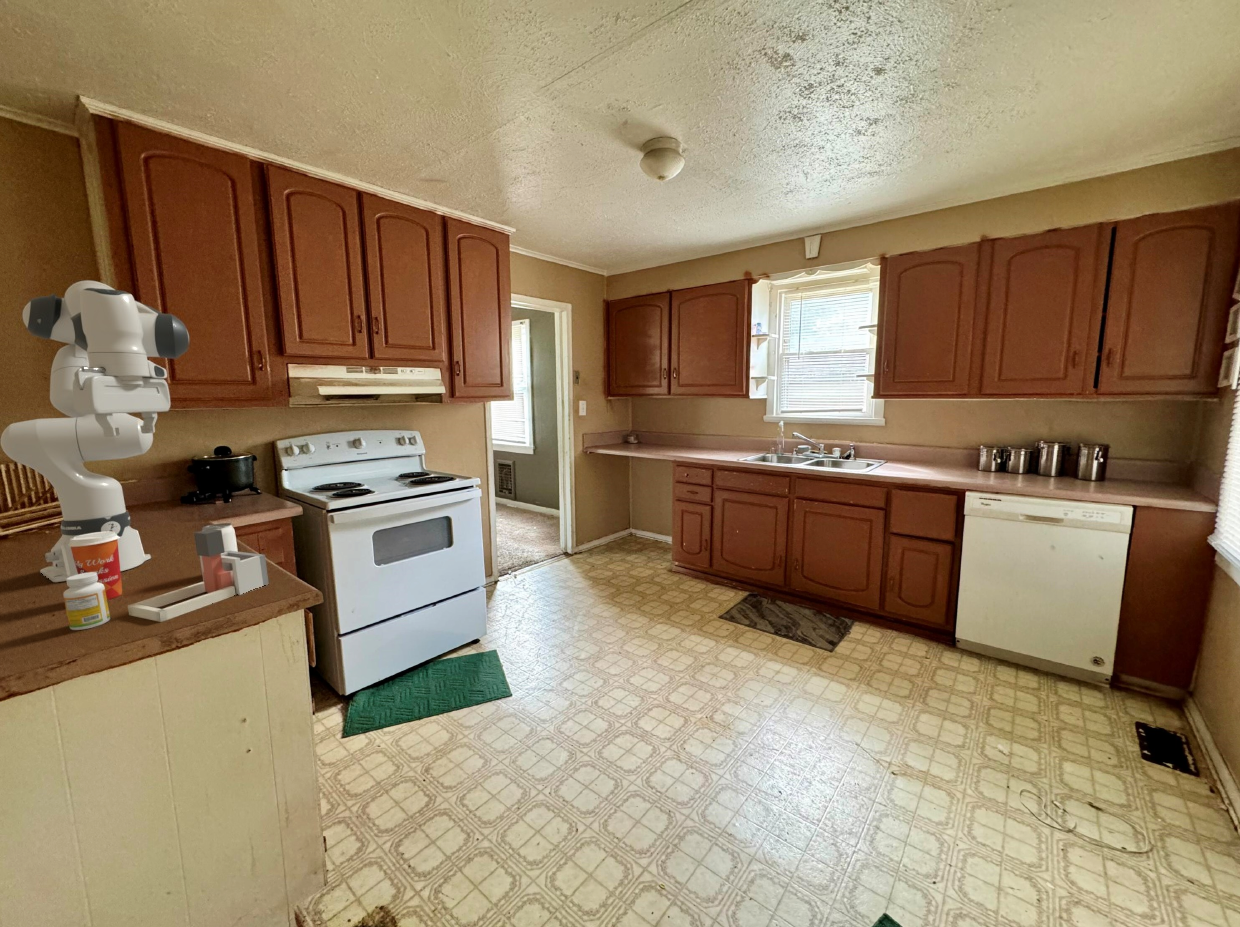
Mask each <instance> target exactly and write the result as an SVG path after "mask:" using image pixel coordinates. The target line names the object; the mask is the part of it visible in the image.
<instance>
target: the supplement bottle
mask: <svg viewBox="0 0 1240 927" xmlns="http://www.w3.org/2000/svg"><path fill="white" fill-rule="evenodd" d="M97 580H98V576H97V573H96V572H89V573H82V574H78V575H74V576H71V577H68V578H67V579H66V581H65V582H66V585H67V587H69V588H68V589H66V590H64V592H63V593H62V594H63V596H62V597H63V600H64V606H65V612H66V616H67V621H68V622H67V623H68V626H69V629H70V630H72V631H80V630H81V631H82V630H88V629H92V628H97V627H99V626H101V625H104V624H105V623H107V622H109V621H110V620H111V614H110V608H109V604H108V603H109V602H108V600H107V597H106V592H105V587H104V585H103V584H102V583H97Z"/></svg>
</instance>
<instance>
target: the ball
mask: <svg viewBox="0 0 1240 927" xmlns="http://www.w3.org/2000/svg"><path fill="white" fill-rule="evenodd" d="M230 572H231V579H232V586H234V587H235V581H234V574H233V570H231V571H230Z"/></svg>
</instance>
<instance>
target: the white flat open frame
mask: <svg viewBox="0 0 1240 927" xmlns="http://www.w3.org/2000/svg"><path fill="white" fill-rule="evenodd" d="M205 592H206V594H202V593H205ZM200 594H202V595H200ZM196 595H199V596H196ZM234 595H235V596H236V595H237V594H236V588H235V587H234V586H229V587H226V588H223V589H220V590H217V591H214V592H211V593H207V591H205V585H204V582H203V581H201V582H198V583H194V584H191V585H189V586H186V587H185V586H184V587H181V588H180V589H175V590H173V591H169V592H167V593H164V594H160V595H156V596H154V597H149V598H147V599H144V600H141V601H138V602H135V603H132V604H128V605H127V610H128V615H129V616H132V617H137V618H141V619H146V620H149V621H150V620H151V621H155V622H159V623H162V622H165V621H168V620H172V619H174V618H176V617H179V616H181V615H184V614H188V613H190V612H193V611H197V610H198V609H201V608H205V607H207V606H210V605H212V603H213V604H216V603H218V602H221V601H224V600H226V599H230V598H231V597H235V596H234ZM193 596H196V597H193ZM191 597H193V598H191ZM188 598H191V599H188ZM184 599H188V600H185V601H182V602H179V603H175V602H178V601H181V600H184ZM172 603H175V604H173V605H171V604H172ZM169 604H170V605H169ZM167 605H169V606H167ZM164 606H167V607H165V608H161V607H164Z"/></svg>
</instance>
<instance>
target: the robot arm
mask: <svg viewBox="0 0 1240 927" xmlns="http://www.w3.org/2000/svg"><path fill="white" fill-rule="evenodd" d="M22 320H23V323H24V326H26V330H27V331H28V332H29V333H30V334H31V335H33V336H35V337H37V338H38V337H39V338H42V339H45V340H54V341H56V342H61V343H65V344H67V345H65V346H62V347H60V349H58V351H57V352H56V354H55V356H54V358H53V361H52V364H51V365H52V366H51V370H50V378H49V379H50V381H49V383H50V385H49V400H50V403H51V405H52V406H53V407H54V408H55V409H57V410H58V411H59V412H60V413H62V414H64V415H66V416H67V417H57V418H56V417H53V418H36V419H30V420H25V421H24V420H23V421H19V422H13V423H11V424H9V425H8V426H7V427H6V428H5V429H4V430H3V431H2V434H1V436H0V446H1V449H2V450H3V452H4V453H5V455H6V456H7V457H8V458H10V459H11V460H13V461H14V462H16V463H18V464H21V465H24V466H26V467H29V468H31V469H33V470H34V471H36V472H37V473H39V474H40V475H42V476H43V477H44V478H45V479H46V480H47V481H48V482H49V483H50V484H51V485H52V488H54V490H55V493H56V496H57V499H58V503H59V506H60V510H61V514H62V518H63V519H62V520H61V521H60V522H61V525H60V534H62V535H61V536H60V538H59V539H58V541H57V542H56V543H55V545H53V547H52V548H51V550H50V552H46V553H45V556H44V557H45V560H46V562H47V563H52V565H49V566H46V567H44V568H41V569H40V570H39V571H40V574H41V573H42V574H43V575H42V574H41V575H42V576H44V577H45V576H46V577H45V578H47V579H48V578H49V580H50V581H51V582H53V583H59V582H67V581H66V579H67V578H68V577H71V576H74V575H78V572H77V569H76V565H75V562H74V558H73V554H72V551H71V547H70V546H68V544H69V543H70V539H72V538H74V537H76V536H79V535H84V534H89V533H95V532H104V531H113V532H115V534H117V536H119V537H120V538H119V539H117V540H118V550H119V561H120V572H123V571H126V570H130V569H133V568H136V567H138V566H140V565H142V564H143V563H144V562H146V561H147V560H150V559H151V558H152V556H151V554H149V553H148V554H147V553H145V551H144V548H143V544H142V540H141V536H140V534H139V531H138V530H137V529H135V528H132V527H131V526H130V525H131V524H132V522H131V516H130V514H129V511H127V510H126V509H127V508H126V504H125V499H124V497H125V496H124V491H123V487H122V485H121V483H120V482H119V480H117V479H115V478H114V477H111V476H108V475H104V474H100V473H94V472H92V471H89V470H88V469H87V468H86V467H85V466H84V463H86V462H96V461H109V460H121V459H127V458H131V457H137V456H140V455H144V454H146V453H147V452H148V451H149V450H150V449H151V447H152V446H153V441H154V433H156V428H155V424H156V422H157V420H158V413H160V412H162V413H163V412H164V413H165V412H169V410H170V408H171V404H172V403H171V395H170V389H169V384H168V383H167V380H165V379H167V378H168V371H167V370H166V368H164V367H161V366H160V365H158V364H156V363H154V362H152V361H151V360H148V358H149V357H150V358H151V357H152V358H161V359H162V358H163V359H175V360H176V359H178V358H179V357H181V356H183V354H185V353H186V352H187V351H188V350H189V347H190V346H189V345H190V335H189V332H188V329H187V327H186V325H185V323H184V322H183V321H182V320H181V319H179V318H178V317H176V316H175V315H173V314H172V313H162V312H161V311H159V310H158V309H155V308H154V307H152V306H149V305H147V304H144V303H141V302H140V301H137V300H135V298H134V296H133V295H132V294H131V293H130V292H127V291H124V290H117V289H115V288H113V287H111V286H109V285H108V284H105V283H102V282H100V281H96V280H81V281H77V282H74V283H72V284H71V285H70V286H69V287H68V288H67V289H66V290H65V293H64V297H61V296H56V293H51V294H50V296H48V295H46V296H43V295H42V296H37V297H34V298H31V299H30V300H29V302H28V303H26V305H25V306H24V308H23V310H22ZM131 413H132V414H136V413H137V414H138V413H141V417H142V418H144V419H143V420H142V419H140V417H136V416H133V415H132V414H131ZM130 414H131V415H130Z"/></svg>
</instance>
